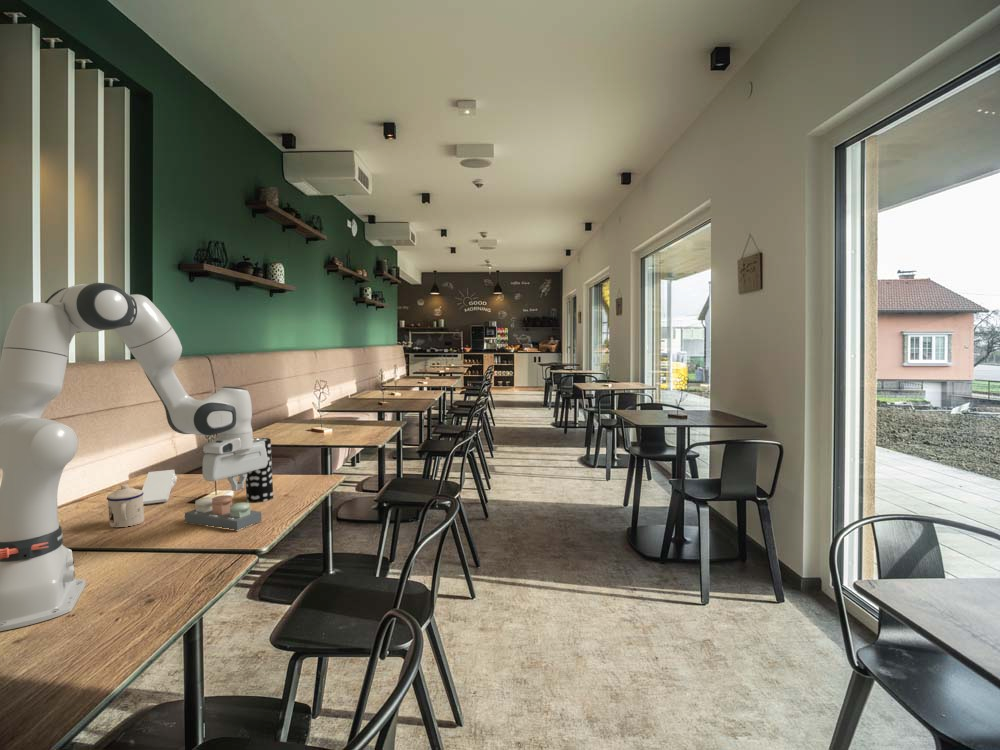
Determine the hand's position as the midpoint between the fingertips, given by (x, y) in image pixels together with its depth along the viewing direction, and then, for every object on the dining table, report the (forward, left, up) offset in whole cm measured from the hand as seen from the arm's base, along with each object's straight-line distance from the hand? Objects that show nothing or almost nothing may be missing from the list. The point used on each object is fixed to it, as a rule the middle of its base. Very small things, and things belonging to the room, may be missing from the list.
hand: (237, 489), depth 165 cm
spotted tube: (+25, -12, -11) cm, 29 cm away
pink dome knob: (+7, +3, -8) cm, 11 cm away
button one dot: (+13, +7, -10) cm, 17 cm away
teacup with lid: (+23, +26, -11) cm, 36 cm away
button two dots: (0, 0, -10) cm, 10 cm away
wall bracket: (+54, +15, -11) cm, 57 cm away
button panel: (+7, +3, -11) cm, 13 cm away
